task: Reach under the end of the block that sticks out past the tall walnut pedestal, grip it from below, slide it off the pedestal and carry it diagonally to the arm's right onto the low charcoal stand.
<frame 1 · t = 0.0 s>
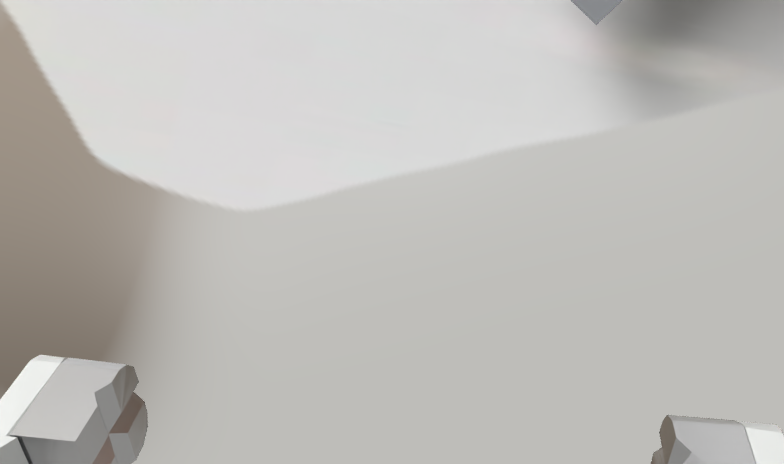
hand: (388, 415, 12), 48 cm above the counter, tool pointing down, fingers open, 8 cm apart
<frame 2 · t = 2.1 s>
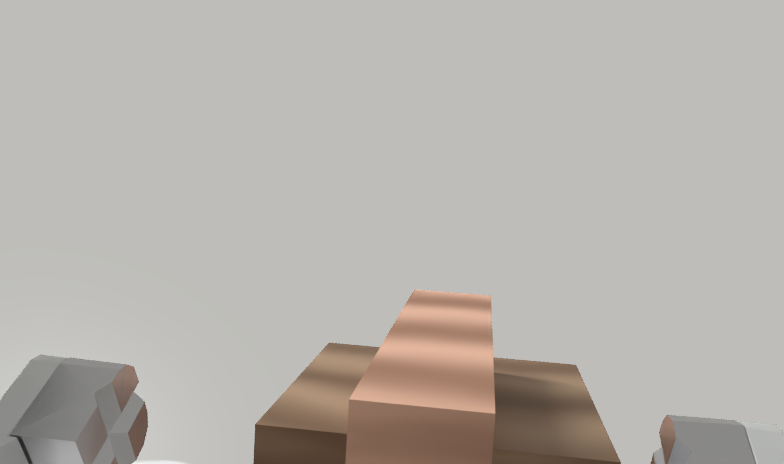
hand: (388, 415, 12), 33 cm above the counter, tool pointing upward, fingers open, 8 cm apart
block: (435, 429, 30), point 26 cm above the counter, touching walnut pedestal
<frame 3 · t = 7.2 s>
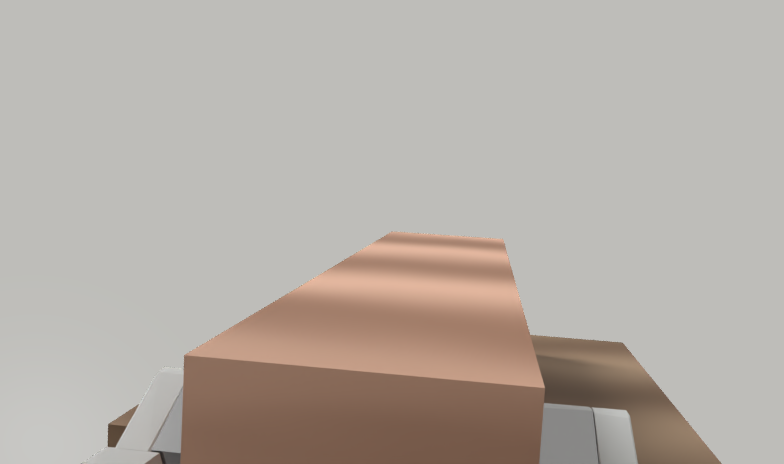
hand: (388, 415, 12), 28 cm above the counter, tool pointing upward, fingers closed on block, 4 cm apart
block: (416, 432, 18), point 26 cm above the counter, touching gripper, walnut pedestal
when the fingers open (19 cm above the counter, at t = 16.3 s): block drops 1 cm, resting on low stand.
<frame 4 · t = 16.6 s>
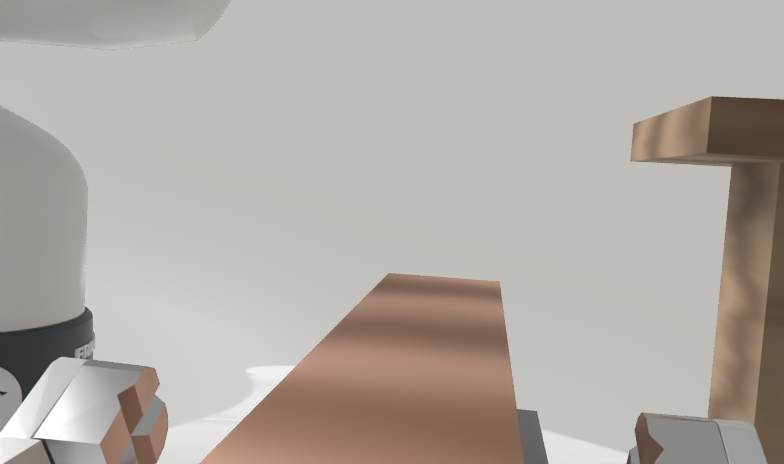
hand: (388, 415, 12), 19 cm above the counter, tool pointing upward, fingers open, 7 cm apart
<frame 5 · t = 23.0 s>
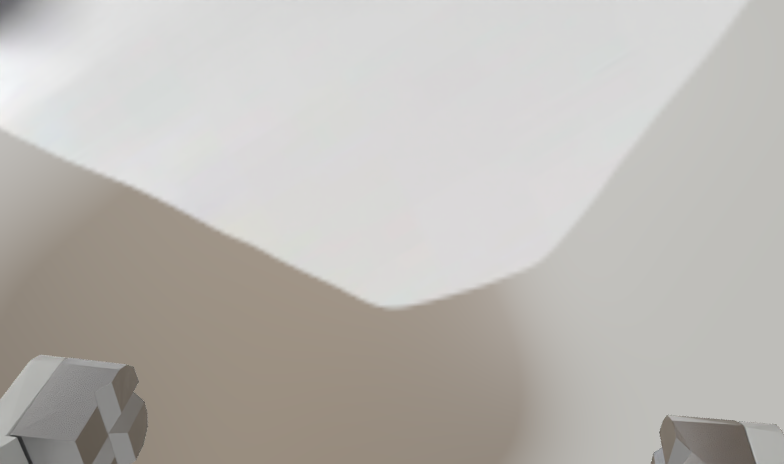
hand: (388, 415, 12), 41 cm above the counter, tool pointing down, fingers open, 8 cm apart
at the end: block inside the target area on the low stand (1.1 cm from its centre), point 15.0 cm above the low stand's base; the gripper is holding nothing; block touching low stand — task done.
